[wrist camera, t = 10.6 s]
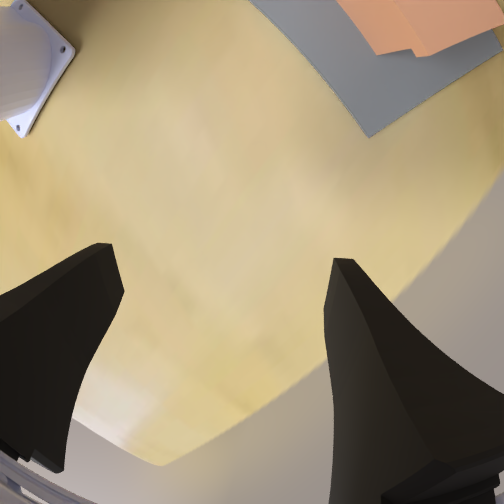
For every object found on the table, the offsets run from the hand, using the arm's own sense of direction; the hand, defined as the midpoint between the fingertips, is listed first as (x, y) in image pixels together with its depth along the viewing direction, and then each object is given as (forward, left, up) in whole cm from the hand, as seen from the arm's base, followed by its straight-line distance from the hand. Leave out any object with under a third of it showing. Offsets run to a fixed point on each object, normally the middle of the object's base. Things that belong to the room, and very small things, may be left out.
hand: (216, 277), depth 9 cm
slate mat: (-5, +13, -9) cm, 17 cm away
